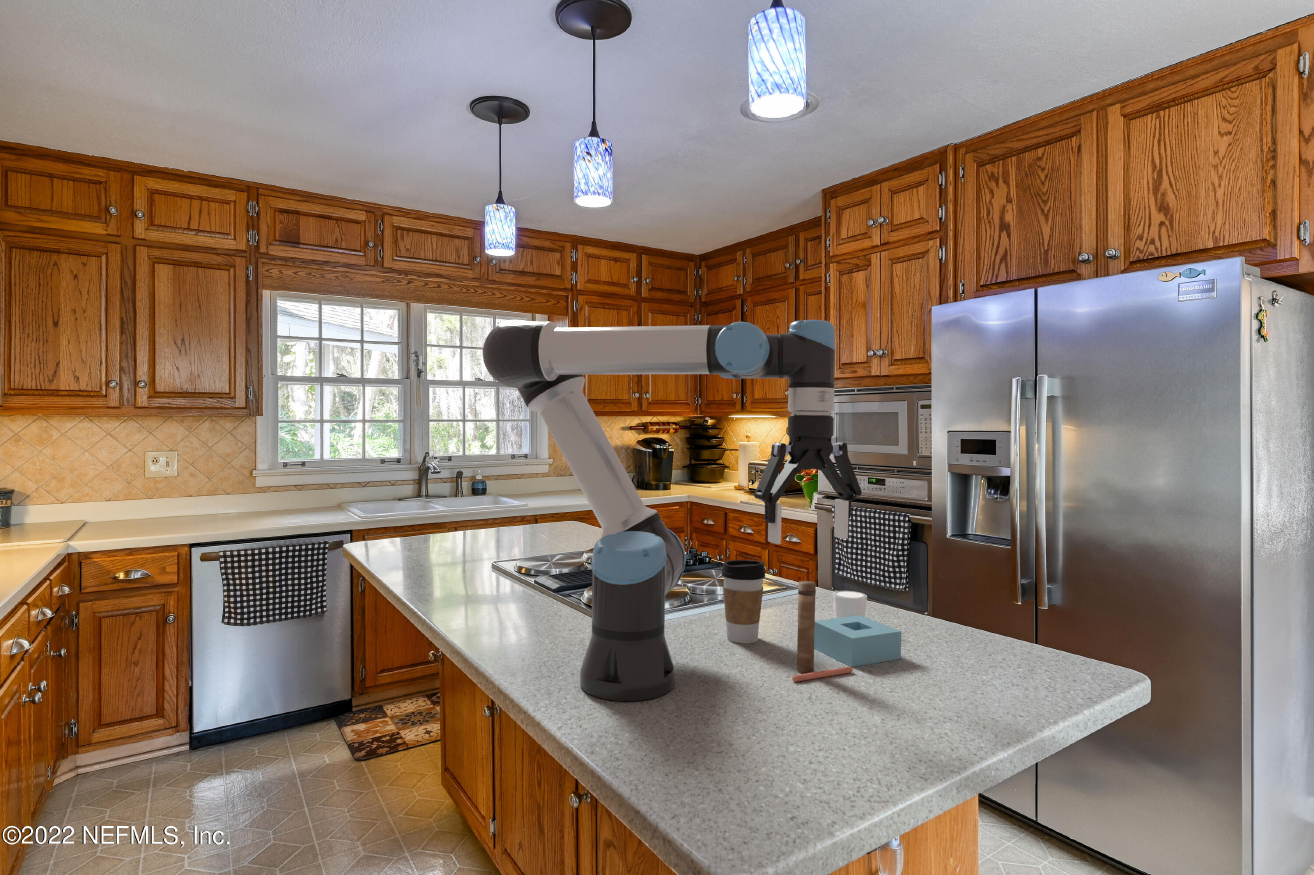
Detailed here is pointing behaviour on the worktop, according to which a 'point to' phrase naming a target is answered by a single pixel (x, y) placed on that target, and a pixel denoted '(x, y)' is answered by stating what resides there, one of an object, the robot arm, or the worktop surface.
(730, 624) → the coffee cup
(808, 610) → the round wooden peg
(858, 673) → the worktop surface
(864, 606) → the white cylinder
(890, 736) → the worktop surface
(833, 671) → the salmon red rod
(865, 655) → the blue square hole block
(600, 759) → the worktop surface
